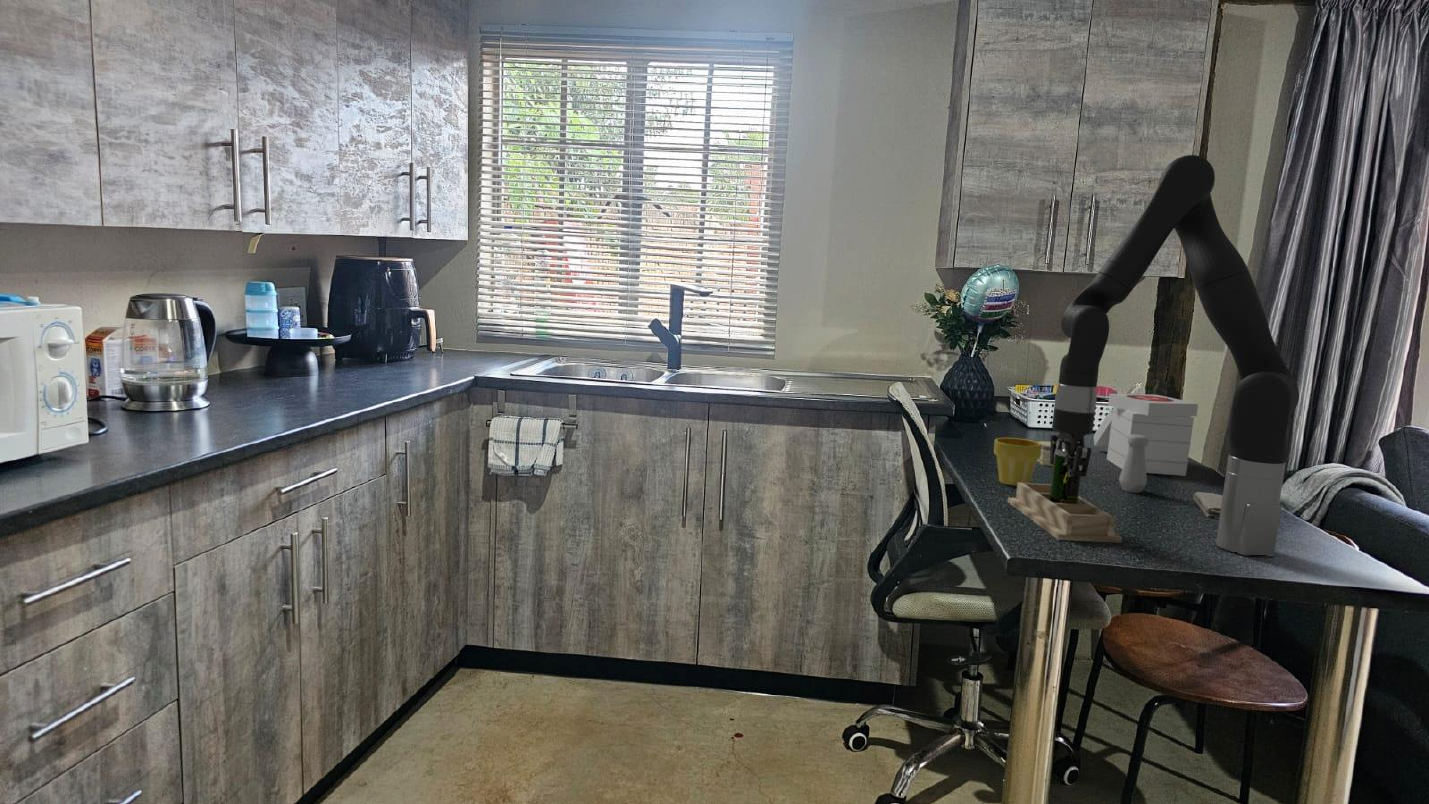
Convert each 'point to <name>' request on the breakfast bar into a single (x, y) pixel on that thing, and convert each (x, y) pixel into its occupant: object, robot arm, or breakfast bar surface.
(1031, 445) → the plant pot
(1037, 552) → the breakfast bar surface
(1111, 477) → the breakfast bar surface
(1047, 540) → the breakfast bar surface
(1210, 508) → the washcloth
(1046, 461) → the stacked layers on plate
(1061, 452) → the beer can
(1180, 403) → the pizza boxes
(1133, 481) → the salt shaker
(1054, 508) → the wooden compartment organizer
